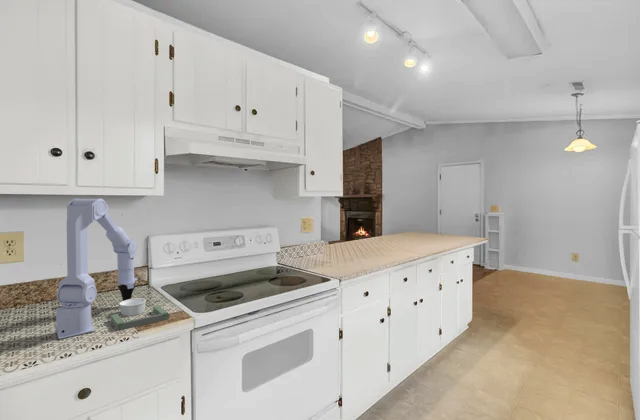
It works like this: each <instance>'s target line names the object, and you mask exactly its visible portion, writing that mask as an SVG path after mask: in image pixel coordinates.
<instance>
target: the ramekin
mask: <svg viewBox="0 0 640 420" xmlns="http://www.w3.org/2000/svg"><path fill="white" fill-rule="evenodd" d="M146 302H147V300H146V298H143V297H142V298H141V297H137V298H135V297H134V298H131V299H128V300H125V301H123V300H122V301H120V302H119V308H120V314H121V315H122V316H124V317H133V316H139V315H140V314H143V313H144V312H145V310H146Z"/></svg>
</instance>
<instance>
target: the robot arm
mask: <svg viewBox="0 0 640 420" xmlns="http://www.w3.org/2000/svg"><path fill="white" fill-rule="evenodd" d="M95 221H96V222H97V223H98V225H100V226H101V227H102V228H103V229H104V230H105V231H106V232H105V236H106V238H107V239H108V240H109V242H111V245H112V247H113V248H112V249H113V252H114V253H116V255H117V256H116V258H117V259H116V260H117V261H116V262H117V281H116V282H117V284H118V285H117V288H118V289H119V292H120V294H121V298H122V301H125V300H128V299H132V296H133V292H134V290H135V288H136V284H135V282H136V281H139V280H138V279H139V278H136V277H135V257H136V252H137V248H138V244H137V242H136V241H135V240H134V239H131V238H130V237H129V236H128V234H127V233H126V231H124V229H123V227H121V226H119V225H116V224H115V222H114V221H113V218H111V215H110V213H109V205H108V204H107V202H106V201H105V199H103V198H72V199H71V200H70V201H69V202H68V203H67V205H66V259H67V260H66V263H67V264H66V265H67V266H66V267H67V268H66V269H67V276H65V277H64V278H63V279H61V280H60V281H58V289H57V292H56V300H57V302H58V303H60V304H61V307H58V308H56V309H55V324H56V325H55V332H56V335H57V338H58V339H59V340H61V339H66V338H69V337H75V336H79V335H83V334H88V333H92V332H93V333H94V332H95V328H94V326H93V324H92V304H93V303H94V301H95V299H96V298H97V295H98V291H97V287H96V283H95V279H94V277H92V276H91V275H90V274H89V273H88V272H89V271H88V227H89V226H90V225H91V224H92V223H94V222H95Z"/></svg>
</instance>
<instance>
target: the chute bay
mask: <svg viewBox="0 0 640 420" xmlns="http://www.w3.org/2000/svg"><path fill="white" fill-rule="evenodd" d="M152 312H153V313H154V315H149V316H145V317H140V318H137V319H132V320H127V321H124V320H123V319H122V318H121V316H120V315H119V314H118V313H115V314H110V321H111V322H112V324H113V325H114V327H115V328H116V329H117V331H123V330H127V329H128V330H129V329H131V328H135V327H140V326H146V325H149V324H152V323H153V324H154V323H157V322H162V321H167V320H169V319H170V316H169V315H170V313H169V311H166V310H165V309H164V308H163V307H161V306H160V305H159V304H158V305H153V306H152Z"/></svg>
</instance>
